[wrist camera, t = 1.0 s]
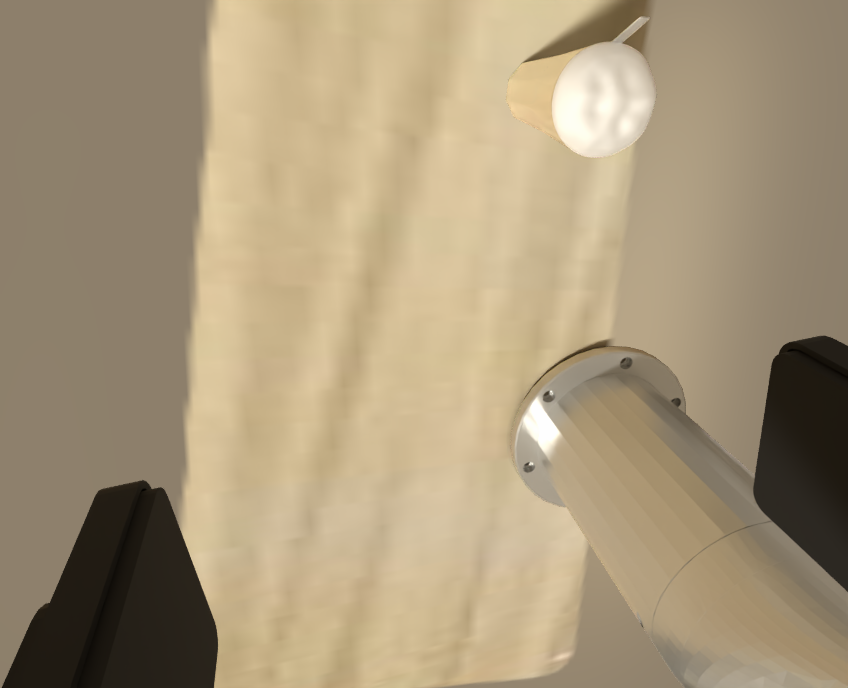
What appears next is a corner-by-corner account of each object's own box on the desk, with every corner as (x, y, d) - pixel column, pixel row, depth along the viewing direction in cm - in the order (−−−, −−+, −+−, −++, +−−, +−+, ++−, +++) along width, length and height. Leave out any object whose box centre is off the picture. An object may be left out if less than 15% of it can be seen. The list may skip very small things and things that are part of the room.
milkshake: (584, 33, 32) (700, 24, 24) (565, 140, 35) (664, 168, 26) (502, 22, 31) (590, 8, 22) (487, 133, 33) (563, 160, 25)
